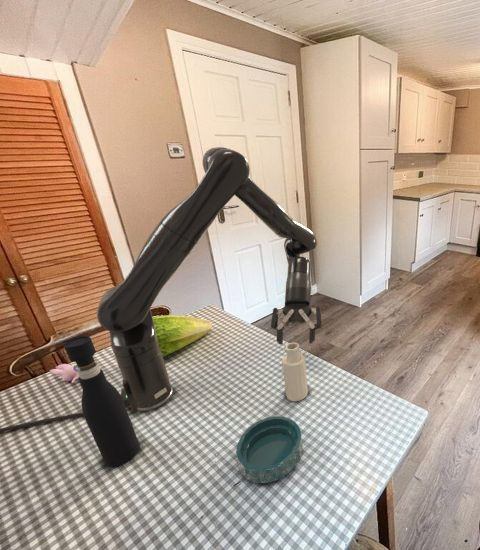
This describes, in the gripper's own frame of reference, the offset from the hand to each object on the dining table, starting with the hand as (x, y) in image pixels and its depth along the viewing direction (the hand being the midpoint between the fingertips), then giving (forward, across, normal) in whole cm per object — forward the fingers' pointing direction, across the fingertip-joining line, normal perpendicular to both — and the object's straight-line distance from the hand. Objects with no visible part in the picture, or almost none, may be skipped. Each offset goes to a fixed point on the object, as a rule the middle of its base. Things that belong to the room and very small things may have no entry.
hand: (295, 343), depth 86 cm
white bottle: (+13, 0, +6) cm, 14 cm away
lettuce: (-6, -44, +25) cm, 51 cm away
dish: (+26, -3, -7) cm, 28 cm away
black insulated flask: (+25, -37, -6) cm, 45 cm away
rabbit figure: (+6, -67, +13) cm, 68 cm away
